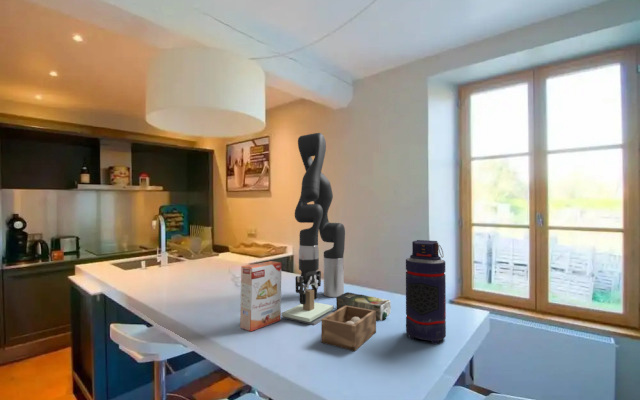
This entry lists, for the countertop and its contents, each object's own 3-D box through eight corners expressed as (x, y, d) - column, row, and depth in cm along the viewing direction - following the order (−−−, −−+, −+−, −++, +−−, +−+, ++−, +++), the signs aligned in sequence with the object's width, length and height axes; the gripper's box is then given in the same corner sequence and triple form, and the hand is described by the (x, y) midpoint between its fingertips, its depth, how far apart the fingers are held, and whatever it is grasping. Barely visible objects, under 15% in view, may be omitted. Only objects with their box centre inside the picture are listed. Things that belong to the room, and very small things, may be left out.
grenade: (442, 347, 93) (442, 243, 94) (401, 339, 99) (401, 241, 100) (449, 331, 105) (448, 239, 106) (412, 325, 111) (412, 238, 112)
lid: (307, 305, 131) (307, 283, 131) (333, 310, 125) (333, 287, 125) (281, 317, 117) (282, 293, 117) (309, 323, 110) (309, 298, 111)
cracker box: (251, 332, 104) (251, 267, 105) (239, 328, 108) (240, 265, 108) (282, 320, 115) (282, 262, 116) (270, 317, 119) (270, 260, 119)
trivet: (303, 307, 130) (303, 306, 130) (334, 313, 123) (334, 312, 123) (282, 317, 118) (282, 316, 118) (314, 325, 111) (314, 323, 111)
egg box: (345, 325, 110) (345, 305, 110) (375, 332, 105) (375, 310, 105) (321, 342, 97) (321, 319, 97) (354, 351, 91) (354, 326, 91)
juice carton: (393, 314, 123) (393, 298, 123) (383, 322, 115) (383, 304, 115) (347, 305, 134) (347, 291, 134) (335, 312, 126) (335, 296, 126)
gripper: (310, 254, 129) (310, 295, 129) (289, 258, 117) (289, 304, 117) (327, 255, 125) (326, 298, 125) (306, 260, 113) (306, 308, 113)
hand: (308, 301), depth 121 cm, fingers open, 7 cm apart
